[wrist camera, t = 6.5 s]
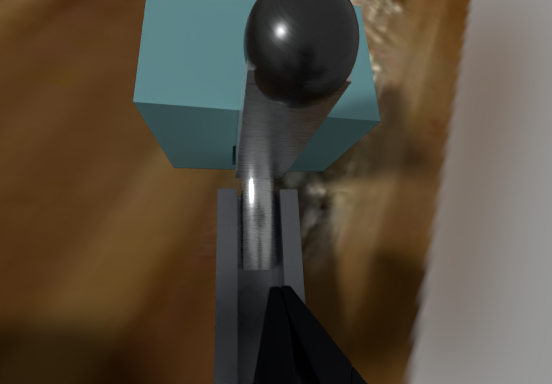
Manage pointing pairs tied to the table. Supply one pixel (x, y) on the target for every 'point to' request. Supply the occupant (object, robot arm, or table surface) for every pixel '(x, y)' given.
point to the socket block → (227, 87)
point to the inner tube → (286, 101)
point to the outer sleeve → (250, 284)
